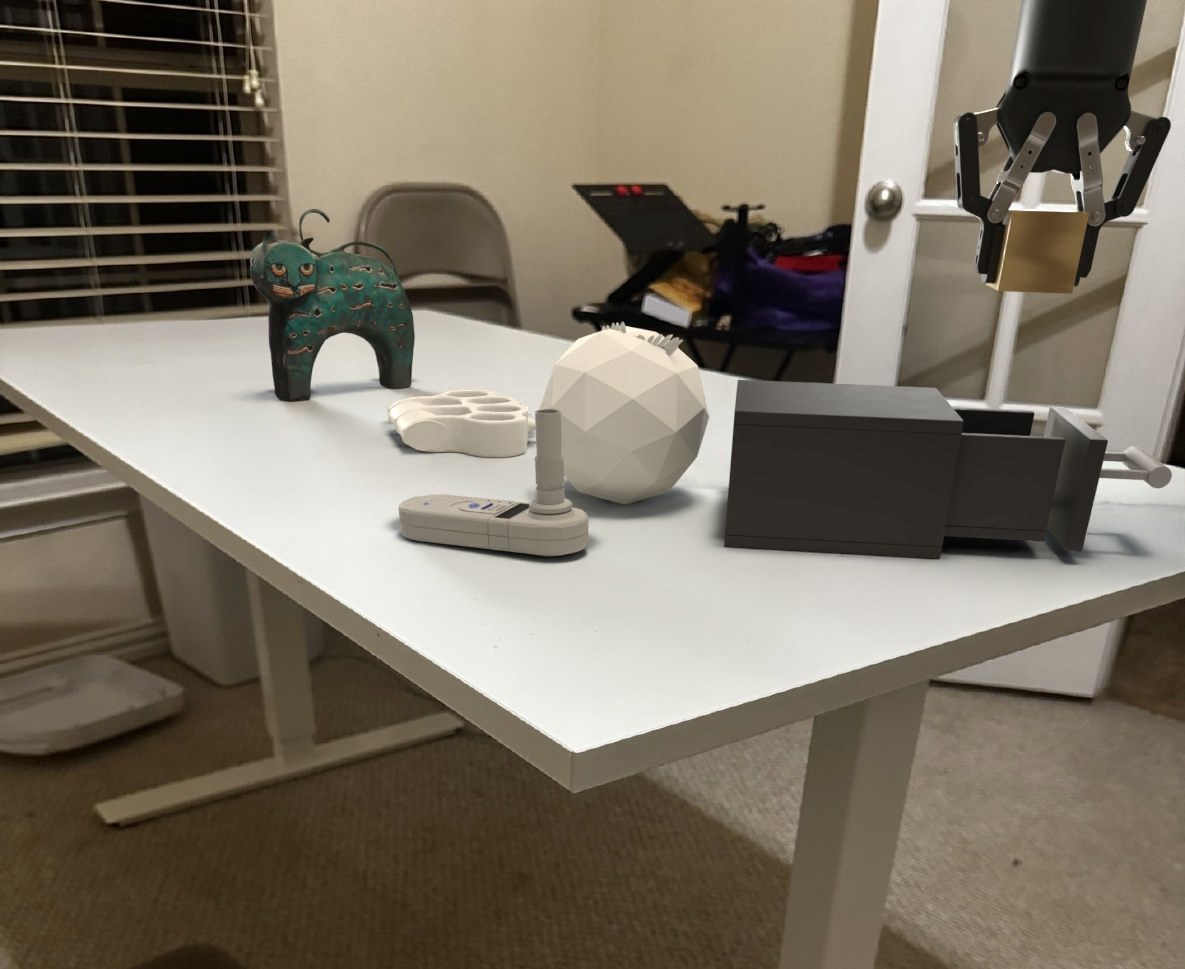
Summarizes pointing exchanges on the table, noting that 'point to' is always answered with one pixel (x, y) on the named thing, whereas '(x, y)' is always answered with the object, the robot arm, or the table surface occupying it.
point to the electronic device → (507, 509)
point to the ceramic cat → (330, 309)
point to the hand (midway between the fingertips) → (1029, 283)
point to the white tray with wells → (464, 423)
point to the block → (1040, 250)
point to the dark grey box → (841, 468)
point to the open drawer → (1034, 476)
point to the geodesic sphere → (627, 413)
